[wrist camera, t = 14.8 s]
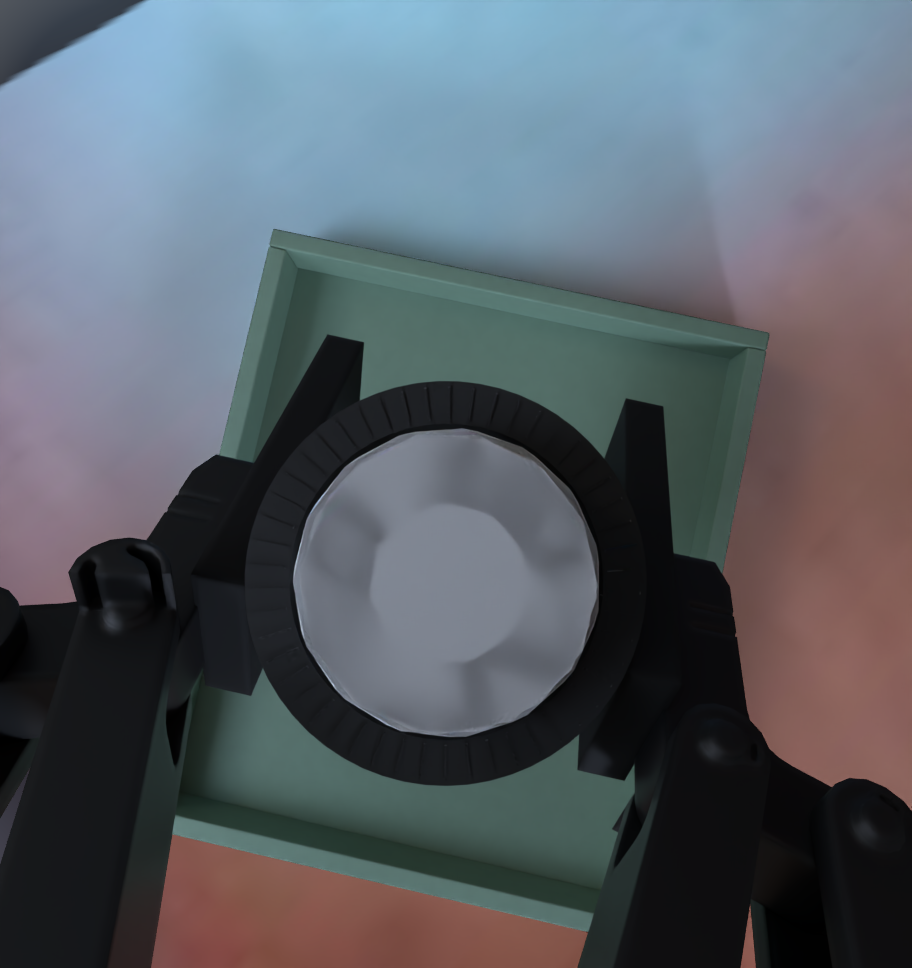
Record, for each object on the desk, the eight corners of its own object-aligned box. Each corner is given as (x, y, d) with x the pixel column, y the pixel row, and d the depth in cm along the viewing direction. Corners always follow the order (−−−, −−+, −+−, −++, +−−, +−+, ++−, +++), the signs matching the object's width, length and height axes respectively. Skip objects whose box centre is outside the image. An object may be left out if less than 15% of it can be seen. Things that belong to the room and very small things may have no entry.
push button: (603, 666, 19) (793, 795, 9) (407, 759, 19) (383, 1001, 9) (490, 423, 19) (556, 294, 10) (296, 510, 19) (154, 473, 9)
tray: (632, 909, 25) (648, 946, 23) (159, 799, 26) (129, 825, 24) (744, 349, 27) (771, 332, 24) (289, 253, 27) (272, 227, 25)
